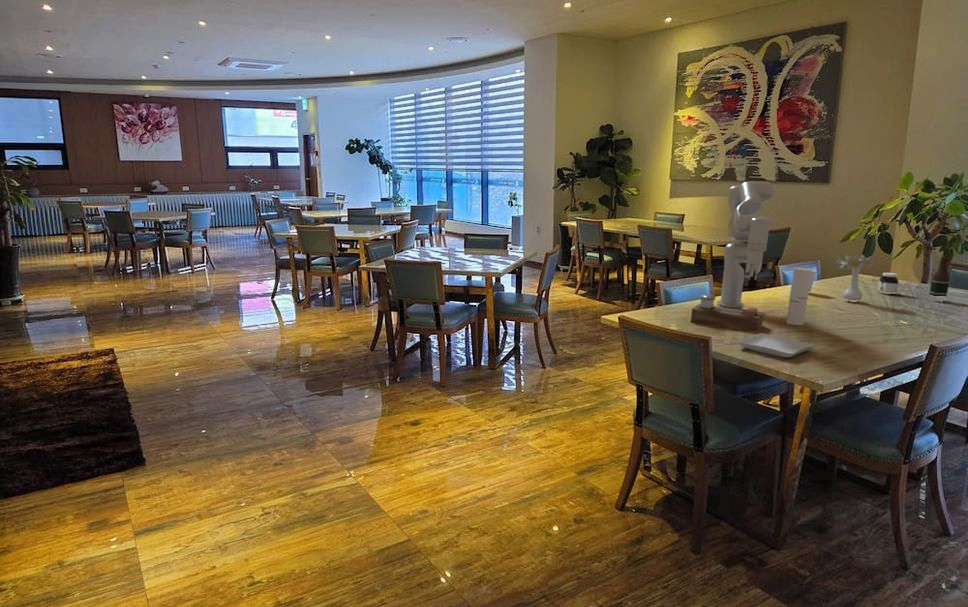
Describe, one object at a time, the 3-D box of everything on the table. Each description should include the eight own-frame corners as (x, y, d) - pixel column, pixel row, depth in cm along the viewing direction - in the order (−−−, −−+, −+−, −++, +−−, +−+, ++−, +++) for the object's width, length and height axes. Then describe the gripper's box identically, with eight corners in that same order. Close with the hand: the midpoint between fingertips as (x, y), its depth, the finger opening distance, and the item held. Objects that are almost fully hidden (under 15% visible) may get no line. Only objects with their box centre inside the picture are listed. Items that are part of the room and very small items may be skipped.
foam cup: (797, 293, 345) (800, 270, 342) (792, 290, 354) (795, 268, 351) (815, 294, 344) (818, 271, 341) (809, 291, 353) (813, 269, 350)
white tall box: (805, 326, 274) (813, 270, 268) (788, 325, 275) (796, 270, 270) (801, 322, 281) (808, 268, 275) (784, 321, 282) (791, 267, 277)
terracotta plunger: (741, 319, 275) (743, 306, 274) (757, 321, 272) (758, 308, 270) (738, 322, 270) (740, 308, 268) (754, 324, 266) (756, 310, 265)
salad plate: (760, 339, 252) (761, 331, 252) (814, 352, 237) (815, 343, 236) (734, 349, 239) (735, 340, 238) (790, 362, 223) (792, 353, 222)
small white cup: (700, 307, 283) (702, 293, 282) (715, 309, 280) (716, 295, 279) (697, 309, 278) (698, 296, 277) (712, 311, 275) (713, 298, 274)
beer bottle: (949, 302, 330) (957, 258, 325) (934, 302, 330) (942, 258, 325) (938, 299, 338) (946, 256, 332) (924, 299, 338) (932, 255, 332)
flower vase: (833, 296, 339) (840, 251, 333) (872, 302, 327) (879, 255, 321) (827, 300, 329) (834, 254, 324) (867, 306, 317) (874, 258, 312)
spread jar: (874, 291, 356) (878, 271, 353) (895, 292, 355) (899, 272, 352) (886, 296, 344) (889, 275, 342) (907, 296, 343) (911, 276, 341)
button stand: (697, 316, 288) (698, 304, 287) (761, 325, 274) (763, 312, 272) (690, 321, 278) (692, 308, 277) (757, 331, 264) (759, 317, 262)
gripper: (750, 243, 271) (745, 284, 276) (744, 248, 259) (739, 290, 264) (769, 245, 268) (763, 286, 272) (763, 250, 255) (758, 293, 260)
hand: (751, 288), depth 268 cm, fingers closed
